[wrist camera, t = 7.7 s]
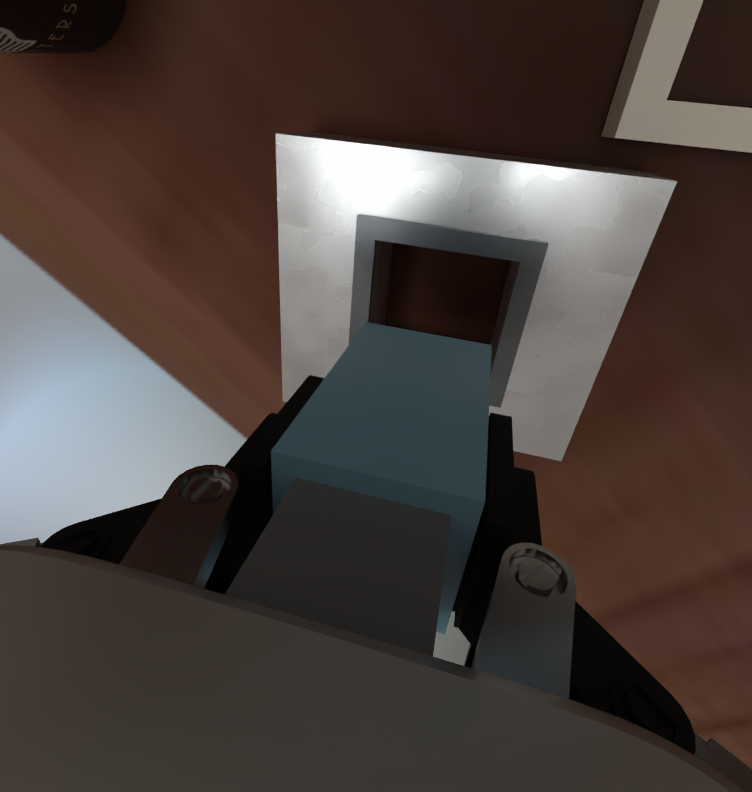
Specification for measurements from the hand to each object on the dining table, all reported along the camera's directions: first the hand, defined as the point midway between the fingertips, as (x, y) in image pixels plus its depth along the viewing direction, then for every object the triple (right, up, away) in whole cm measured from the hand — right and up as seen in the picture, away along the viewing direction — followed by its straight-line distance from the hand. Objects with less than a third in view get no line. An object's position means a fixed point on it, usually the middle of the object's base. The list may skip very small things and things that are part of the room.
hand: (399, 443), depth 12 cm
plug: (+1, +2, +3) cm, 3 cm away
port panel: (+3, +7, +10) cm, 12 cm away
